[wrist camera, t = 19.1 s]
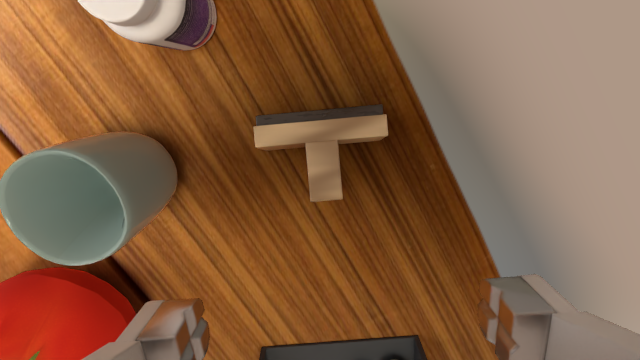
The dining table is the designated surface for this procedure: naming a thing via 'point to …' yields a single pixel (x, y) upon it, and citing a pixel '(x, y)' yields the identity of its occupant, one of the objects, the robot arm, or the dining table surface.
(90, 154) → the cup
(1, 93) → the dining table surface
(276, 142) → the brush
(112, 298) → the tomato
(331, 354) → the dustpan
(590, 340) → the robot arm
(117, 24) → the pill bottle
